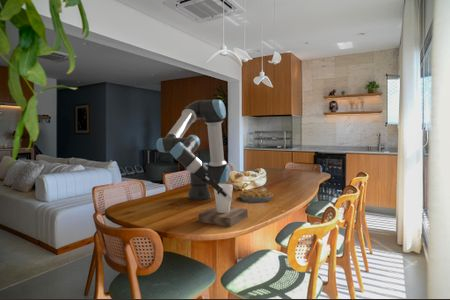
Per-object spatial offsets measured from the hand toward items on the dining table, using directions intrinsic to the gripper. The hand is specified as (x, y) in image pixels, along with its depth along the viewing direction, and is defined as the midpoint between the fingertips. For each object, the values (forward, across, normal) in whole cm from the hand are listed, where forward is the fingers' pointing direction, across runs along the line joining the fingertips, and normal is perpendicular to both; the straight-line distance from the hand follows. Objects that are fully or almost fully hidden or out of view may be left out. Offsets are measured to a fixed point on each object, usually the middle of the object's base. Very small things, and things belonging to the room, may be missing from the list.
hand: (227, 197), depth 145 cm
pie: (+26, -40, +10) cm, 49 cm away
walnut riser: (+6, 0, -9) cm, 11 cm away
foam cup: (+3, 0, -7) cm, 8 cm away
